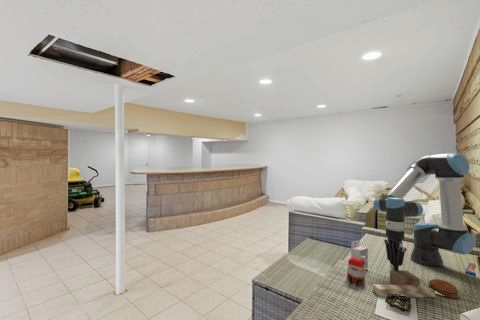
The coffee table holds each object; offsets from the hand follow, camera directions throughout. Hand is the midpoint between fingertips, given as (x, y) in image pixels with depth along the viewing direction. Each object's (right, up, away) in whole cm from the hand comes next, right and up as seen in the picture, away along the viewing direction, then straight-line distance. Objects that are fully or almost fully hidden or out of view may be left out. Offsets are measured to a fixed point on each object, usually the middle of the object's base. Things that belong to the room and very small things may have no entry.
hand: (394, 277), depth 109 cm
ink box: (-10, -3, +13) cm, 17 cm away
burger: (+15, -2, -10) cm, 18 cm away
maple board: (-4, -1, -12) cm, 13 cm away
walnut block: (0, -1, -6) cm, 6 cm away
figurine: (-19, -1, -2) cm, 20 cm away
